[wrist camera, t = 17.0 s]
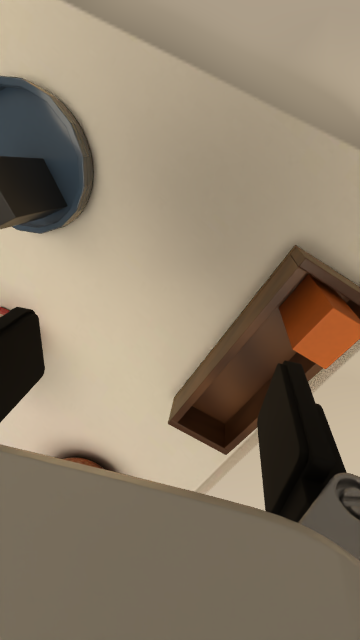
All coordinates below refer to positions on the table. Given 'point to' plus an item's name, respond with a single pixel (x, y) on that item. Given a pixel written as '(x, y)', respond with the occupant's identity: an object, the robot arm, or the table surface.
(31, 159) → the black block
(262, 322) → the holder
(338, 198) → the table surface
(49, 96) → the bowl
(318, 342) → the orange tall block
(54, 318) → the table surface
